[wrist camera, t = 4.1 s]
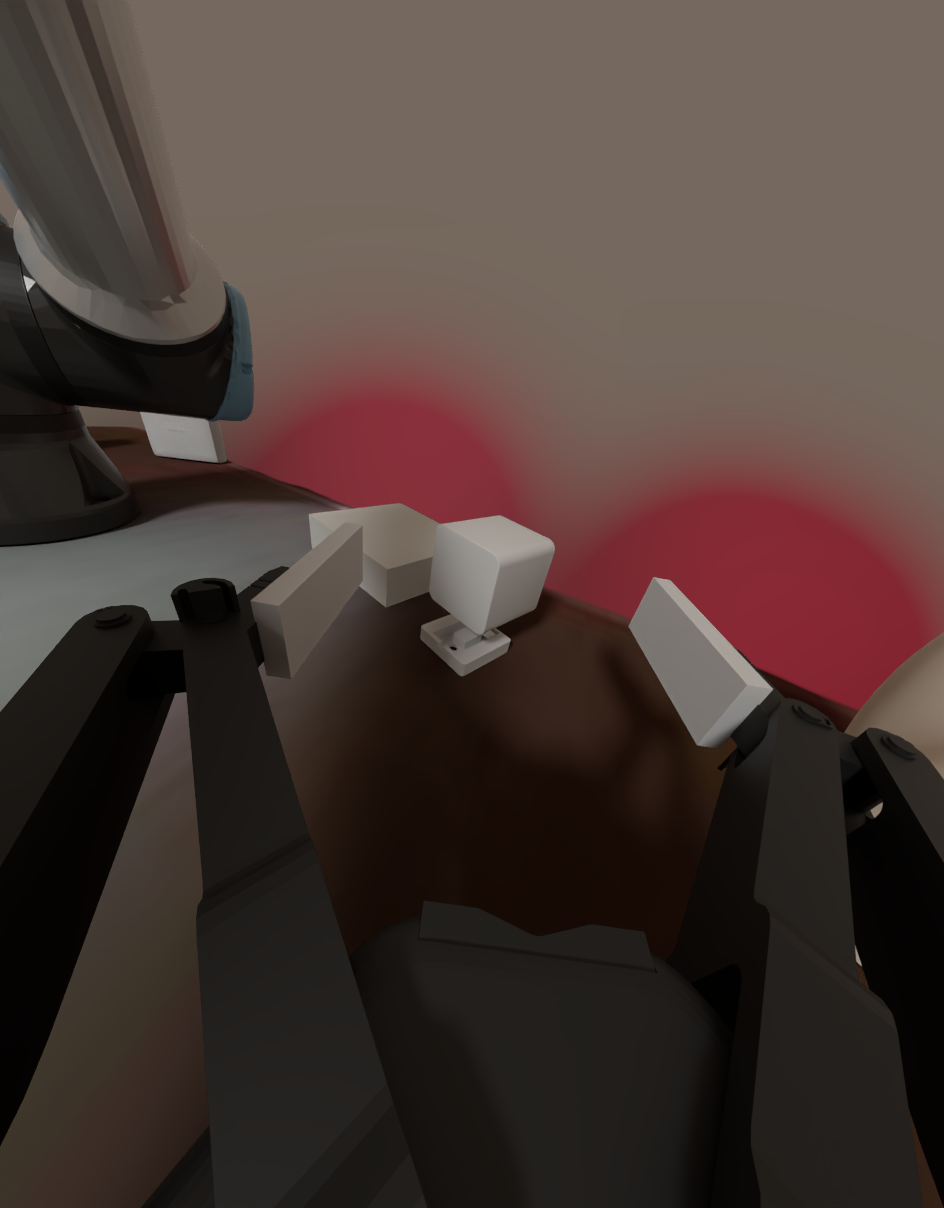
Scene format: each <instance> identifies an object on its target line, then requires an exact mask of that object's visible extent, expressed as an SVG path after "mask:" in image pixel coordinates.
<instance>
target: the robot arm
mask: <svg viewBox="0 0 944 1208" xmlns="http://www.w3.org/2000/svg"><path fill="white" fill-rule="evenodd" d="M0 179H1V181H2V183H3V184H4V186H5V187H6V189H7V191H8V192H9V194H10V195H11V197H12V198H13V200H14V202H15V203H16V205H17V207H18V208H19V209H18V212H17V214H16V216H15V220H14V226H13V229H12V228H9V225H8V223H7V220H6V219H5V218H4V217H3V216H2V215H1V214H0V545H12V544H27V543H38V542H47V541H55V540H62V539H69V538H74V537H80V536H85V535H89V534H94V533H98V532H102V531H105V530H108V529H112V528H115V527H117V526H120V525H122V524H125V523H127V522H129V521H131V520H132V519H134V518H135V517H136V516H137V515H138V514H139V513H140V505H139V503H138V500H137V497H136V495H135V492H134V490H133V488H132V487H131V485H130V484H129V483H128V482H127V480H126V479H125V478H124V477H123V475H122V474H121V473H120V472H119V470H118V469H117V468H116V467H115V465H114V464H113V463H112V462H111V461H110V459H109V458H108V457H107V456H106V454H105V453H104V452H103V451H102V449H101V448H100V447H99V446H98V444H97V443H96V442H95V441H94V439H93V438H92V437H91V435H90V434H89V432H88V430H87V428H86V425H85V423H84V421H83V418H82V416H81V413H80V411H79V407H78V406H88V407H99V408H108V409H117V410H127V411H137V412H146V413H155V414H163V415H172V416H180V417H189V418H197V419H205V420H206V421H211V422H213V421H218V420H227V421H242V420H245V419H247V418H248V417H249V416H250V414H251V412H252V409H253V401H254V376H253V371H252V367H253V365H252V356H253V355H252V343H251V333H250V325H249V318H248V312H247V307H246V303H245V300H244V297H243V295H242V294H241V293H240V292H239V290H237V289H236V288H234V287H232V286H230V285H229V284H227V283H226V282H224V281H222V278H221V276H220V273H219V271H218V269H217V267H216V265H215V263H214V262H213V260H212V259H211V257H210V255H209V254H208V253H207V252H206V250H205V249H204V248H203V247H202V246H201V244H200V243H199V242H198V241H197V240H196V239H195V238H194V237H193V236H192V235H191V234H190V233H189V230H188V226H187V222H186V218H185V214H184V210H183V207H182V203H181V199H180V195H179V191H178V187H177V183H176V179H175V176H174V172H173V168H172V164H171V160H170V156H169V152H168V148H167V144H166V141H165V137H164V133H163V129H162V125H161V121H160V117H159V113H158V109H157V105H156V102H155V98H154V94H153V90H152V86H151V82H150V78H149V75H148V71H147V67H146V63H145V59H144V55H143V51H142V47H141V43H140V39H139V36H138V32H137V28H136V24H135V20H134V17H133V13H132V8H131V4H130V1H129V0H0ZM362 581H363V525H358V524H352V523H347V522H345V523H344V524H342V525H341V526H340V527H339V528H338V529H336V530H335V531H334V532H333V533H331V534H330V535H329V536H328V537H327V538H325V539H324V540H323V541H322V542H321V543H319V544H318V545H317V546H316V547H315V548H313V549H312V550H311V551H310V552H309V553H307V554H306V555H305V556H304V557H303V558H301V559H300V560H299V561H298V562H297V563H295V564H294V565H293V566H292V567H291V568H289V567H283V566H281V567H279V568H276V569H273V570H271V571H268V572H267V573H265V574H264V575H263V576H261V577H260V578H259V579H258V580H256V581H255V582H254V583H252V584H251V586H248V587H247V588H246V589H244V590H243V591H242V592H240V593H239V594H238V595H237V594H236V590H235V586H234V585H233V584H232V582H230V581H228V580H225V579H219V578H203V579H197V580H193V581H189V582H186V583H184V584H181V585H179V586H178V587H176V588H175V589H174V590H173V591H172V593H171V598H172V600H173V603H174V606H175V609H176V611H177V614H178V617H179V620H174V621H151V619H150V617H149V614H148V612H147V611H146V610H145V609H144V608H142V607H139V606H135V605H120V606H110V607H105V608H104V609H103V608H102V609H99V610H96V611H94V612H92V613H89V614H87V615H85V616H83V617H82V618H81V619H79V620H78V621H77V622H76V623H75V624H74V625H73V626H72V628H71V629H70V630H69V631H68V632H67V633H66V635H65V636H64V637H63V638H62V639H61V641H60V642H59V643H58V644H57V645H56V647H55V648H54V649H53V650H52V651H51V652H50V654H49V655H48V656H47V657H46V658H45V660H44V661H43V662H42V663H41V664H40V666H39V667H38V668H37V669H36V670H35V671H34V673H33V674H32V675H31V676H30V677H29V679H28V680H27V681H26V682H25V683H24V685H23V686H22V687H21V688H20V689H19V690H18V692H17V693H16V694H15V695H14V696H13V698H12V699H11V700H10V701H9V702H8V704H7V705H6V706H5V707H4V708H3V709H2V711H1V712H0V1146H1V1144H2V1142H3V1140H4V1138H5V1135H6V1133H7V1131H8V1129H9V1127H10V1125H11V1123H12V1121H13V1119H14V1117H15V1115H16V1113H17V1111H18V1109H19V1107H20V1105H21V1103H22V1101H23V1099H24V1097H25V1094H26V1092H27V1089H28V1087H29V1085H30V1082H31V1080H32V1077H33V1075H34V1072H35V1070H36V1068H37V1065H38V1063H39V1060H40V1058H41V1055H42V1053H43V1051H44V1048H45V1046H46V1043H47V1041H48V1038H49V1036H50V1033H51V1030H52V1028H53V1025H54V1022H55V1019H56V1017H57V1014H58V1011H59V1009H60V1006H61V1003H62V1000H63V998H64V995H65V992H66V989H67V987H68V984H69V981H70V979H71V976H72V973H73V970H74V968H75V965H76V962H77V959H78V957H79V954H80V951H81V949H82V946H83V943H84V940H85V938H86V935H87V932H88V930H89V927H90V924H91V921H92V919H93V916H94V913H95V910H96V908H97V905H98V902H99V900H100V897H101V894H102V891H103V889H104V886H105V883H106V881H107V878H108V875H109V872H110V870H111V867H112V864H113V861H114V859H115V856H116V853H117V851H118V848H119V845H120V842H121V840H122V837H123V834H124V831H125V829H126V826H127V823H128V821H129V818H130V815H131V812H132V810H133V807H134V804H135V802H136V799H137V796H138V793H139V791H140V788H141V785H142V782H143V780H144V777H145V774H146V772H147V769H148V766H149V763H150V761H151V758H152V755H153V753H154V750H155V747H156V744H157V742H158V739H159V736H160V733H161V731H162V728H163V725H164V723H165V720H166V717H167V714H168V712H169V709H170V706H171V704H172V701H173V698H174V695H175V693H181V692H187V704H188V715H189V727H190V739H191V750H192V762H193V774H194V785H195V797H196V808H197V820H198V832H199V843H200V855H201V866H202V878H203V898H202V900H201V901H200V903H199V905H198V908H197V917H196V927H197V948H198V963H199V978H200V992H201V1007H202V1022H203V1036H204V1051H205V1066H206V1080H207V1095H208V1110H209V1124H210V1125H209V1126H208V1128H207V1129H206V1130H205V1131H204V1132H203V1134H202V1135H201V1136H200V1137H199V1138H198V1140H197V1141H196V1142H195V1143H194V1145H193V1146H192V1147H191V1148H190V1149H189V1151H188V1152H187V1153H186V1154H185V1155H184V1157H183V1158H182V1159H181V1160H180V1161H179V1163H178V1164H177V1165H176V1166H175V1167H174V1169H173V1170H172V1171H171V1172H170V1173H169V1175H168V1176H167V1177H166V1178H165V1179H164V1181H163V1182H162V1183H161V1184H160V1185H159V1187H158V1188H157V1189H156V1190H155V1191H154V1193H153V1194H152V1195H151V1196H150V1197H149V1199H148V1200H147V1201H146V1202H145V1204H144V1205H143V1206H142V1207H141V1208H923V1205H922V1198H921V1191H920V1184H919V1177H918V1170H917V1163H916V1156H915V1149H914V1142H913V1135H912V1129H911V1122H910V1115H909V1110H910V1113H911V1116H912V1119H913V1122H914V1125H915V1128H916V1131H917V1135H918V1138H919V1141H920V1144H921V1147H922V1149H923V1152H924V1155H925V1158H926V1160H927V1163H928V1166H929V1169H930V1171H931V1174H932V1177H933V1180H934V1182H935V1185H936V1188H937V1191H938V1193H939V1196H940V1199H941V1201H942V1204H943V1207H944V779H943V778H942V776H941V775H940V774H939V772H938V771H937V770H936V768H935V767H934V766H933V764H932V763H931V761H930V760H929V759H928V758H927V757H926V756H925V755H924V754H923V753H922V752H920V751H919V750H918V749H917V748H915V747H914V745H913V744H911V743H910V742H908V741H907V740H906V741H905V739H903V738H901V737H900V736H898V735H894V734H892V733H889V732H887V731H884V730H881V729H878V728H868V729H867V730H865V731H864V732H863V733H862V734H860V735H859V736H858V737H854V736H851V735H849V734H846V733H843V732H840V731H838V730H837V729H836V727H835V725H834V724H833V722H832V721H831V720H830V719H829V718H828V717H827V716H825V715H824V714H823V713H821V712H820V711H819V710H817V709H815V708H814V707H812V706H810V705H809V704H806V703H804V702H802V701H799V700H796V699H792V698H785V697H784V696H783V695H782V694H781V693H780V692H779V691H778V690H777V689H776V688H775V687H774V686H773V685H772V684H771V683H770V682H769V681H768V680H767V679H766V677H765V676H764V675H763V674H762V673H760V672H759V670H758V669H757V668H756V667H755V666H754V665H753V664H751V662H750V661H749V660H748V659H747V658H746V657H745V656H744V655H743V653H742V652H740V651H739V650H737V649H736V648H735V647H733V646H732V645H731V644H730V643H729V642H728V641H727V640H726V639H725V638H724V637H723V636H722V635H721V634H720V633H719V631H718V630H717V629H716V628H715V627H714V626H713V625H712V624H711V623H710V622H709V621H708V620H707V619H706V618H705V617H704V616H703V615H702V614H701V612H700V611H698V609H697V608H696V607H695V606H694V605H693V604H692V603H691V602H690V601H689V600H688V599H687V598H686V597H685V596H684V594H683V593H682V592H681V591H680V590H679V589H678V588H677V587H676V586H675V585H674V584H673V583H672V582H671V581H670V580H666V579H660V578H655V577H654V578H653V579H652V581H651V583H650V585H649V587H648V589H647V592H646V593H645V595H644V597H643V599H642V601H641V603H640V605H639V607H638V609H637V611H636V613H635V615H634V617H633V619H632V621H631V623H630V625H629V628H630V630H631V631H632V633H633V635H634V637H635V638H636V640H637V642H638V644H639V645H640V647H641V649H642V651H643V652H644V654H645V656H646V657H647V659H648V661H649V663H650V664H651V666H652V668H653V670H654V671H655V673H656V675H657V677H658V678H659V680H660V682H661V684H662V685H663V687H664V689H665V690H666V692H667V694H668V696H669V697H670V699H671V701H672V703H673V704H674V706H675V708H676V710H677V711H678V713H679V715H680V716H681V718H682V720H683V722H684V723H685V725H686V727H687V729H688V730H689V732H690V734H691V736H692V737H693V739H694V741H695V743H696V744H697V745H700V746H706V747H712V748H718V749H720V748H721V747H722V746H723V744H724V743H725V742H726V741H727V740H728V739H729V738H730V737H732V739H733V740H734V741H735V743H736V744H737V746H738V747H737V748H736V749H735V750H734V751H733V752H732V753H731V754H730V755H729V756H728V758H727V759H726V760H725V761H724V762H723V763H722V764H721V765H720V766H719V767H718V769H719V770H721V771H722V770H723V769H724V768H727V769H726V773H725V776H724V780H723V783H722V787H721V790H720V794H719V797H718V801H717V804H716V808H715V811H714V815H713V818H712V822H711V825H710V829H709V832H708V836H707V839H706V843H705V846H704V850H703V853H702V857H701V860H700V864H699V867H698V871H697V874H696V878H695V881H694V885H693V888H692V892H691V895H690V899H689V902H688V906H687V909H686V913H685V916H684V920H683V924H682V927H681V931H680V934H679V938H678V941H677V944H676V946H675V948H674V950H673V952H672V954H671V955H670V957H669V958H668V960H667V961H666V962H664V961H663V960H661V959H660V958H658V957H657V956H655V955H654V954H652V953H650V950H649V946H648V943H647V939H646V936H645V932H643V931H636V930H628V929H621V928H614V927H607V926H600V925H593V924H590V925H586V926H582V927H578V928H574V929H570V930H565V931H561V932H557V933H553V934H549V935H545V936H534V935H531V934H529V933H527V932H525V931H523V930H521V929H519V928H517V927H515V926H513V925H511V924H509V923H507V922H505V921H503V920H501V919H499V918H497V917H495V916H493V915H491V914H489V913H487V912H485V911H483V910H481V909H479V908H473V907H466V906H459V905H452V904H445V903H438V902H431V901H424V902H423V906H422V911H421V915H420V916H416V917H411V918H407V919H404V920H402V921H399V922H397V923H394V924H392V925H390V926H388V927H387V928H385V929H383V930H381V931H380V932H378V933H377V934H375V935H374V936H373V937H372V938H370V939H369V940H368V941H366V942H365V943H364V944H363V945H362V946H361V947H360V948H359V949H357V950H356V951H355V952H354V953H353V954H352V955H351V956H350V957H349V958H348V954H347V951H346V948H345V945H344V941H343V938H342V935H341V932H340V928H339V925H338V922H337V919H336V916H335V912H334V909H333V906H332V903H331V899H330V896H329V893H328V890H327V886H326V883H325V880H324V877H323V873H322V870H321V867H320V864H319V860H318V857H317V854H316V851H315V848H314V845H313V842H312V840H311V838H310V836H309V834H308V831H307V827H306V824H305V821H304V818H303V814H302V811H301V808H300V805H299V801H298V798H297V795H296V791H295V788H294V785H293V782H292V778H291V775H290V772H289V768H288V765H287V762H286V759H285V755H284V752H283V749H282V745H281V742H280V739H279V735H278V732H277V729H276V726H275V722H274V719H273V716H272V712H271V709H270V706H269V703H268V699H267V696H266V693H265V689H264V686H263V683H262V680H261V676H260V673H259V670H258V667H259V666H260V665H261V664H262V663H263V662H264V665H265V670H266V674H267V676H274V677H280V678H286V679H292V678H293V677H294V675H295V674H296V672H297V671H298V670H299V668H300V667H301V666H302V664H303V663H304V661H305V660H306V659H307V657H308V656H309V654H310V653H311V652H312V650H313V649H314V648H315V646H316V645H317V643H318V642H319V641H320V639H321V638H322V637H323V635H324V634H325V632H326V631H327V630H328V628H329V627H330V625H331V624H332V623H333V621H334V620H335V619H336V617H337V616H338V614H339V613H340V612H341V610H342V609H343V608H344V606H345V605H346V603H347V602H348V601H349V599H350V598H351V597H352V595H353V594H354V592H355V591H356V590H357V588H358V587H359V585H360V584H361V583H362ZM882 802H883V805H882V809H881V812H880V813H879V814H878V815H877V816H876V817H875V818H874V816H873V814H872V812H871V810H872V809H873V808H875V807H876V806H878V805H879V804H881V803H882ZM855 946H856V949H857V952H858V955H859V959H860V962H861V965H862V968H863V971H864V974H865V977H866V980H867V983H868V986H869V989H870V990H869V989H868V988H867V987H866V986H864V985H863V984H862V983H861V982H859V978H858V974H857V964H856V952H855ZM908 1107H909V1108H908Z"/></svg>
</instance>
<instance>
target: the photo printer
mask: <svg viewBox="0 0 944 1208" xmlns="http://www.w3.org/2000/svg"><path fill="white" fill-rule="evenodd" d="M140 413H141V416H142V419H143V423H144V426H145V429H146V432H147V435H148V438H149V441H150V444H151V447H152V449H153V452H154V454H155V455H157V456H162V457H172V458H180V459H189V460H197V461H205V462H213V463H224V462H226V461H227V456H226V450H225V446H224V442H223V437H222V433H221V428H220V424H219V420H218V421H213V422H211V421H206V420H205V419H197V418H189V417H180V416H172V415H163V414H155V413H146V412H140Z"/></svg>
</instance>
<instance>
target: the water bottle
mask: <svg viewBox="0 0 944 1208" xmlns="http://www.w3.org/2000/svg"><path fill="white" fill-rule="evenodd" d="M868 728H878V729H881V730H884V731H887V732H889V733H892V734H894V735H898V736H900V737H901V738H903V739H905V741H906V740H907V741H908V742H910V743H911V744H913V745H914V747H915V748H917V749H918V750H919V751H920V752H922V753H923V754H924V755H925V756H926V757H927V758H928V759H929V760H930V761H931V763H932V764H933V766H934V767H935V768H936V770H937V771H938V772H939V774H940V775H941V776H942V778H943V779H944V632H943V633H942V634H941V635H939V636H938V637H936V638H935V639H933V640H932V641H930V642H929V643H928V644H926V645H925V646H924V647H923V648H921V649H920V650H919V651H917V652H916V653H915V654H913V655H912V656H911V657H910V658H909V659H908V660H906V661H905V662H904V663H903V664H902V665H901V666H900V667H898V668H897V669H896V670H895V671H894V672H893V673H892V674H891V675H890V676H889V677H888V678H887V679H886V680H885V681H884V683H882V685H881V686H880V687H879V688H878V689H877V690H876V691H875V692H874V694H872V696H871V697H870V698H869V699H868V701H867V702H866V703H865V704H864V706H863V707H862V708H861V709H860V710H859V712H858V713H857V714H856V716H855V717H854V719H853V720H852V722H851V723H850V725H849V726H848V728H847V729H846V731H845V732H844V733H846V734H849V735H851V736H854V737H858V736H859V735H860V734H862V733H863V732H864V731H865V730H867V729H868ZM882 805H883V802H882V803H881V804H879V805H878V806H876V807H875V808H873V809H872V810H871V812H872V814H873V816H874V818H875V817H876V816H877V815H878V814H879V813H880V812H881V809H882ZM855 952H856V962H857V963H859V964H860V965H861V962H860V959H859V955H858V952H857V949H856V946H855ZM861 966H862V965H861Z"/></svg>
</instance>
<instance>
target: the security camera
mask: <svg viewBox="0 0 944 1208" xmlns="http://www.w3.org/2000/svg"><path fill="white" fill-rule="evenodd" d="M554 551H555V548H554V544H553V542H552V541H551V540H550V539H549V538H546V537H544V536H542V535H540V534H538V533H536V532H534V531H532V530H530V529H528V528H526V527H524V526H521V525H519V524H517V523H515V522H513V521H511V520H509V519H507V518H505V517H503V516H500V515H498V516H491V517H484V518H478V519H471V520H465V521H458V522H451V523H445V524H440V525H438V527H437V528H436V534H435V543H434V551H433V560H432V568H431V577H430V586H429V592H430V595H431V597H432V599H433V600H434V601H435V602H437V603H438V604H439V605H440V606H442V607H443V608H444V609H445V610H447V611H448V612H449V613H450V615H447V616H445V617H442V618H440V619H437V620H434V621H432V622H429V623H426V624H424V625H422V626H421V634H420V639H421V640H422V641H423V642H424V643H425V644H426V645H427V646H428V647H429V648H430V649H432V650H433V651H434V652H435V653H436V654H437V655H438V656H439V657H440V658H441V659H442V660H443V661H444V662H446V663H447V664H448V665H449V666H450V667H451V668H452V669H453V670H454V671H455V672H456V673H457V674H458V675H460V676H465V675H467V674H468V673H470V672H472V671H474V670H476V669H478V668H479V667H481V666H483V665H485V664H487V663H488V662H490V661H492V660H494V659H496V658H497V657H499V656H501V655H503V654H505V653H506V652H507V651H508V647H509V644H510V641H511V640H510V638H508V637H507V636H506V635H504V634H503V633H502V632H500V631H499V630H498V629H496V627H498V626H501V625H503V624H505V623H507V622H509V621H511V620H513V619H516V618H518V617H520V616H522V615H524V614H526V613H528V612H531V611H533V610H534V609H535V608H536V606H537V603H538V600H539V597H540V594H541V591H542V588H543V585H544V582H545V579H546V576H547V573H548V570H549V567H550V564H551V561H552V558H553V555H554ZM449 647H455V648H456V649H457V650H454V651H453V650H452V649H450V648H449Z"/></svg>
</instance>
